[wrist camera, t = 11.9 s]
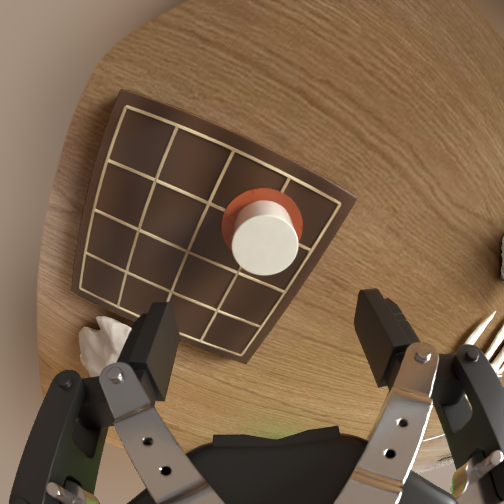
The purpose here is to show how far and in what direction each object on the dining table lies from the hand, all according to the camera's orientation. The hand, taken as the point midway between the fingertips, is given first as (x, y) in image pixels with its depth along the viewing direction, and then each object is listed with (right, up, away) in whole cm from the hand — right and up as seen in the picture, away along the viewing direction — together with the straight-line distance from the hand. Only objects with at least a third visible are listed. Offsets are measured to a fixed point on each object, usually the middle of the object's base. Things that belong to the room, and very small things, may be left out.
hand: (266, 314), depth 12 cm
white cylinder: (0, +4, +8) cm, 9 cm away
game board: (-5, +3, +10) cm, 12 cm away
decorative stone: (-15, -9, +17) cm, 24 cm away
